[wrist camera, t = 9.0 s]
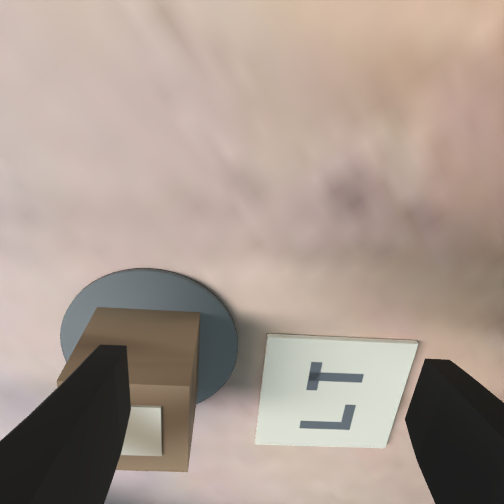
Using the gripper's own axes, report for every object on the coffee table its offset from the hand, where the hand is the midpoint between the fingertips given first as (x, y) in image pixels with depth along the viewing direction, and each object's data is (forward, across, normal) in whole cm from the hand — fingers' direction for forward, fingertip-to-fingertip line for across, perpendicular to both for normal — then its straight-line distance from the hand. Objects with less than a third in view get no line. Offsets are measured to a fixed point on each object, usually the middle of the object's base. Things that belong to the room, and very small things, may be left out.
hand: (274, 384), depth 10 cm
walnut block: (+10, +5, +7) cm, 13 cm away
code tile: (+10, -5, +10) cm, 15 cm away
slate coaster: (+10, +5, +7) cm, 13 cm away
